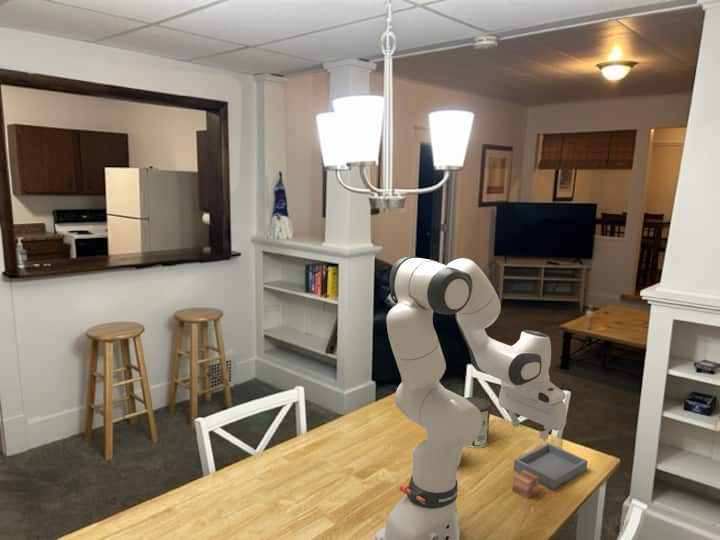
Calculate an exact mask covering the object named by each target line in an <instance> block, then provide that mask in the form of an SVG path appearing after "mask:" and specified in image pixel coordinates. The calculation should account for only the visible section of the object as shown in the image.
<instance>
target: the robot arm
mask: <svg viewBox="0 0 720 540" xmlns="http://www.w3.org/2000/svg"><path fill="white" fill-rule="evenodd" d="M391 267H392V268H391V270H390V273H389V287H390V298H391V300H392V302H394V304H395V305H394V306H392V308H391V309H390V310H389V311H388V313H387V314H386V321H385V322H386V329H387V335H388V340H389V343H390V348H391V351H392V353H393V356H394V359H395V362H396V365H397V369H398V371H399V374H400V378H401V383H400V384H399V385H398V387H397V389H396V391H395V394H394V402H395V405H396V407H397V408H398V409H399V411H400V412H401V413H402V414H403V415H404V416H405V417H406V418H408V420H410V421H412V422H414V423H415V424H417V425H418V426H421V427H422V428H424V429H425V430H426V432H427V439H425V440H423V441H421V442H419V444H418V445H417V446H415V448H414V450H413V454H412V456H413V457H412V475H411V478H410V480H409V482H408V485H407V484H406V483H405V482H403V483H401V484H399V485H400V486H399V489H398V490H399V491H400V492H402V493H403V494H405V495H404V496H403V497H402V498H401V499H400V501H398V503H397V504H396V506H394V508H393V509H392V510H391V512H390V513H389V514H388V515H387V517H386V521H385V526H383V527H382V528H381V529H380V530H378V531H377V532H376V533H375V540H461V539H460V538H461V529H460V525H459V517H458V508H457V507H458V506H457V498H458V492H459V490H458V486H459V485H458V480H457V471H458V467H457V462H458V456H459V453H460V451H461V449H462V448H463V449H464V447H466V446H465V445H468V444H470V443H472V442H473V441H474V440H475V439H476V438H477V437H478V436H479V434H480V432H481V429H482V425H483V419H482V414H481V412H480V410H479V409H478V408H477V407H476V406H474V405H473V404H472V403H471V402H470V401H468V400H467V399H466V398H467V397H464V396H461V395H459V394H458V393H455V392H453V391H451V390H449V389H447V388H446V387H444V386H443V385H442V384H441V382H440V380H441V379H442V378H443V375H444V374H445V371H446V369H447V364H446V359H445V357H444V353H443V351H442V347H441V343H440V341H439V337H438V335H437V332H436V329H435V327H434V323H433V322H434V321H433V317H434V312H435V313H437V314H440V315H454V314H455V320H456V324H457V325H458V328H459V331H460V333H461V335H462V338H463V340H464V341H465V344H466V346H467V348H468V352H469V356H470V362H471V364H472V367H473V368H474V370H476V371H477V372H479V373H481V374H485V375H489V376H491V377H493V378H496V379H498V380H501V381H500V391H499V395H498V405H499V407H501V408H503V409H505V410H506V411H508V415H509V417H510V420H511V426H512V427H515V428H517V427H519V426H520V419H518V417H517V416H518V415H519V416H521V417H524V418H526V419H527V420H530V421H532V422H535V423H537V424H540V425H542V426H543V429H544V430H542V431H541V432H540V431H539V439H542V440H544V441H546V440H548V437H549V433H550V432H551V431H552V430H554V431H559V430H562V429H564V428H565V426H566V425H567V407H566V403H565V402H564V401H565V399H566V392H564V390H562V389H561V388H559V387H557V386H556V384H554V383H552V381H550V373H549V369H550V367H551V363H552V362H551V361H552V345H551V344H552V343H551V340H550V337H549V336H548V335H547V334H545V333H543V332H540V331H537V330H530V329H526V330H522V331H521V333H520V337H519V340H517V342H516V343H514V344H513V345H508V344H506V343H503V342H501V341H498V340H496V339H494V338H491V337H490V336H489V335H488V334H487V332H486V330H485V329H486V328H488V327H490V326H491V325H493V324H494V323H495V321H497V319H498V318H499V315H500V313H501V309H502V307H501V301H500V299H499V295H498V293H497V292H496V290H495V287H494V286H493V284H492V283H491V281H490V280H489V278H488V277H487V276H486V274H485V273H484V271H482V270H483V269H481V268H480V267H479V266H478V264H477V263H475V262H474V261H473V260H472V259H469V258H463V257H462V258H457V259H454V260H452V261H450V262H449V263H447V265H446V264H443V263H441V262H438V261H436V260H433V259H427V258H421V257H419V256H405V257H402V258H400V259H398V260H397V261H396V262H395V263H394V264H393V265H392V266H391Z"/></svg>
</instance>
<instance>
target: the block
mask: <svg viewBox="0 0 720 540" xmlns="http://www.w3.org/2000/svg"><path fill="white" fill-rule="evenodd" d="M538 487H539V483H538V477H537V476H535V475H533V474H531V473H529V472H527V471H526V470H522V471H520V472H516V473H515V474H513V477H512V491H513V492H514V493H516V494H518V495H519V496H522V497H523V498H524V499H526V500H527V499H529V498H531V497H532V496H534V495H536V494H537V493H538Z"/></svg>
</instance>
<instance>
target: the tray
mask: <svg viewBox="0 0 720 540" xmlns="http://www.w3.org/2000/svg"><path fill="white" fill-rule="evenodd" d="M513 470H514V471H515V472H516V473H518V472H520V471H522V470H526V471H527V472H529V473H531V474H533V475H535V476H537V477H538V485H539V484H540V485H541V486H544V487H545V488H547V489H549V490H550V491H552V492H555V491H557V490H558V489H560V488H561V487H563V486H565V485H567V483H570V482H571V481H573V480H575V479H576V478H578V477H579V476H582V475H583V474H584V473H586V472H587V471H588V460H587V459H585V458H582V457H580V456H579V455H576V454H574V453H571V452H569V451H567V450H564V449H563V448H560V447H559V446H556V445H554V444H552V443H550V442H547V443H544V444H543V445H541V446H538V447H536V448H535V449H533V450H531V451H529V452H527V453H525V454H523V455H521V456H519V457H517V458H515V459H514V464H513Z"/></svg>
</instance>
